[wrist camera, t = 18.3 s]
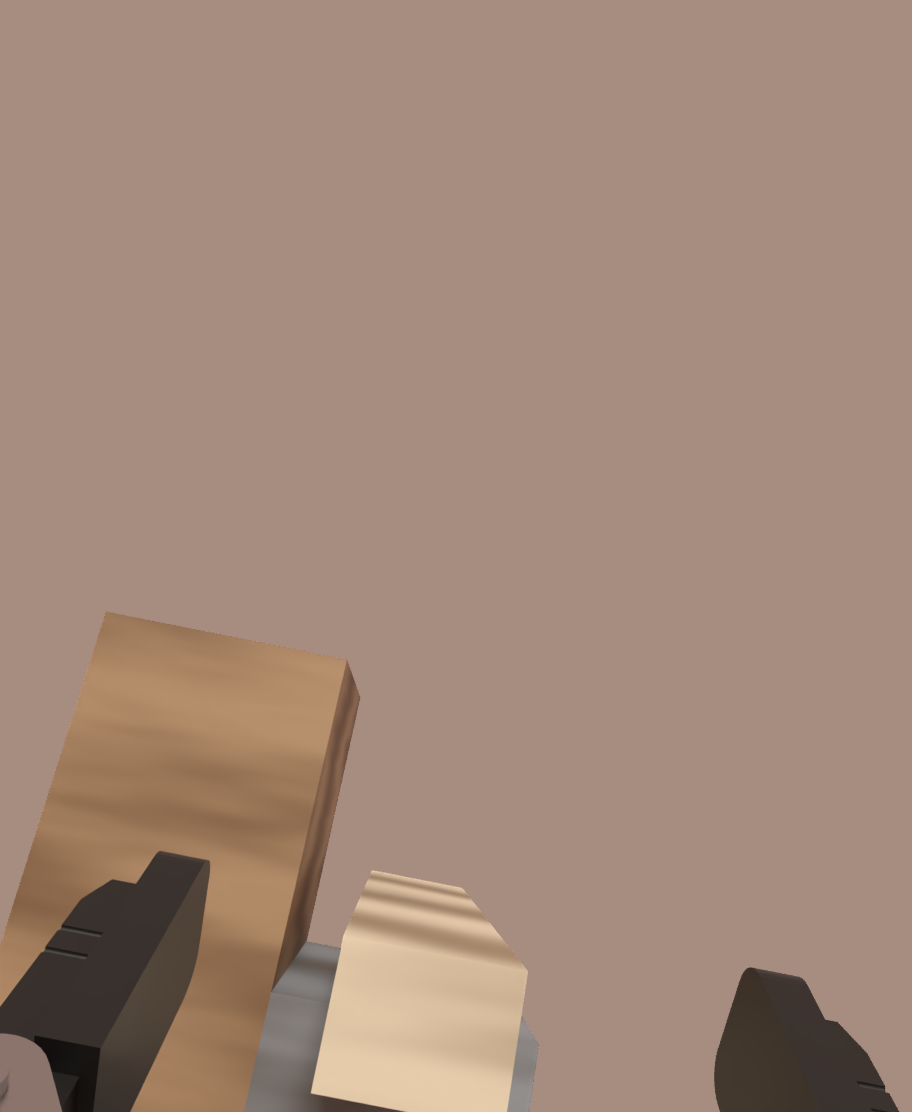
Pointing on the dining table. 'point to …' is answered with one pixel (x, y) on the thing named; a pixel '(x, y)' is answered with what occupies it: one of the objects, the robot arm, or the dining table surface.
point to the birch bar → (421, 1003)
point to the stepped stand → (211, 849)
